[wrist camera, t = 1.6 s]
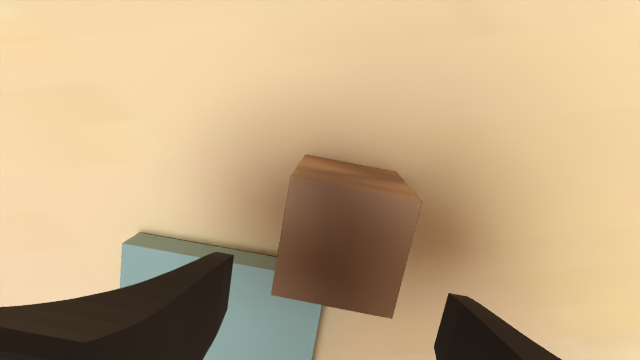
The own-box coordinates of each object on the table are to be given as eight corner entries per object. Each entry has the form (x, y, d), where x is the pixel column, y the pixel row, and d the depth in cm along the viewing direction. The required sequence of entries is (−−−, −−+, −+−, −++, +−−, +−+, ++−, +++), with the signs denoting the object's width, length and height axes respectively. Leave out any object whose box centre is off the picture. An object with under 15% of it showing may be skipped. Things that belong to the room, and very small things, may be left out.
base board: (327, 266, 18) (326, 280, 17) (298, 423, 20) (295, 447, 19) (139, 232, 19) (122, 243, 17) (129, 392, 21) (113, 414, 19)
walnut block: (395, 171, 17) (421, 201, 12) (376, 256, 18) (392, 318, 13) (305, 154, 17) (290, 176, 12) (290, 239, 18) (270, 294, 13)
